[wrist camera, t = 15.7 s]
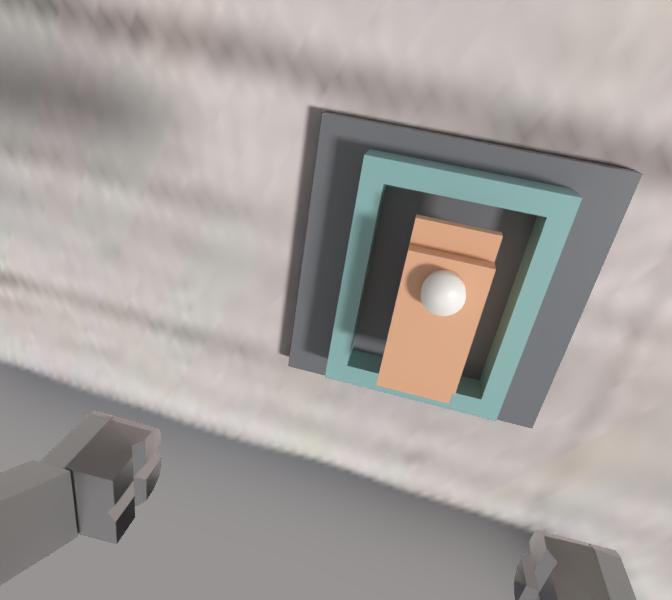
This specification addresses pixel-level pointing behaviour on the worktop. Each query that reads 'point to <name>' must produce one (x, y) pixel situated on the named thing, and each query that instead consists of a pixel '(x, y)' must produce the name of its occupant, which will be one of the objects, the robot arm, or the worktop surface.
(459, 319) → the block
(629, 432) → the worktop surface
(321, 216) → the plate
